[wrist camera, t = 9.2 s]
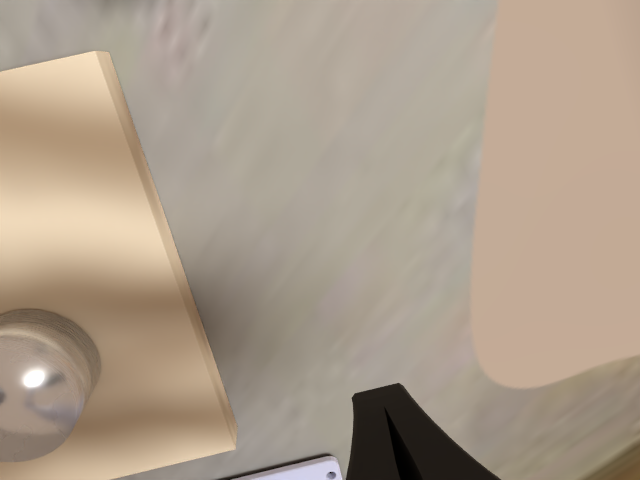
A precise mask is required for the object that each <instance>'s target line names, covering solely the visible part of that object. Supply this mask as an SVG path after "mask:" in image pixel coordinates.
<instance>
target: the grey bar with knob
mask: <svg viewBox="0 0 640 480" xmlns="http://www.w3.org/2000/svg"><path fill="white" fill-rule="evenodd" d="M100 373H101V361H100V356H99V353H98V350H97V348H96V346H95V344H94V343H93V341H92V340H91V338H90V337H89V336H88V335H87V333H86V332H85V331H83V330H82V329H81V328H80V327H79V326H77V325H76V324H75V323H73V322H72V321H70V320H68V319H66V318H64V317H62V316H59V315H57V314H54V313H51V312H46V311H41V310H17V311H12V312H8V313H5V314H2V315H0V462H22V461H29V460H33V459H37V458H40V457H42V456H45V455H47V454H49V453H51V452H53V451H54V450H55V449H57V448H58V447H59V446H61V445H62V444H63V443H64V442H65V440H66V439H67V438H68V437H69V435H70V433H71V432H72V430H73V428H74V426H75V424H76V422H77V420H78V419H79V417H80V415H81V413H82V411H83V409H84V407H85V406H86V404H87V402H88V400H89V398H90V396H91V394H92V393H93V391H94V389H95V387H96V385H97V383H98V380H99V378H100Z"/></svg>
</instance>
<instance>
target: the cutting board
mask: <svg viewBox="0 0 640 480" xmlns="http://www.w3.org/2000/svg"><path fill="white" fill-rule="evenodd" d="M17 310H41V311H46V312H51V313H54V314H57V315H59V316H62V317H64V318H66V319H68V320H70V321H72V322H73V323H75V324H76V325H77V326H79V327H80V328H81V329H82V330H83V331H85V332H86V333H87V335H88V336H89V337H90V338H91V340H92V341H93V343H94V344H95V346H96V348H97V350H98V353H99V356H100V361H101V373H100V378H99V380H98V383H97V385H96V387H95V389H94V391H93V393H92V394H91V396H90V398H89V400H88V402H87V404H86V406H85V407H84V409H83V411H82V413H81V415H80V417H79V419H78V420H77V422H76V424H75V426H74V428H73V430H72V432H71V433H70V435H69V437H68V438H67V439H66V440H65V442H64V443H63V444H62V445H61V446H59V447H58V448H57V449H55V450H54V451H53V452H51V453H49V454H47V455H45V456H42V457H40V458H37V459H33V460H29V461H22V462H0V480H111V479H115V478H119V477H123V476H127V475H131V474H135V473H139V472H144V471H148V470H152V469H156V468H160V467H164V466H168V465H172V464H177V463H181V462H185V461H189V460H193V459H197V458H201V457H205V456H210V455H214V454H218V453H222V452H226V451H230V450H234V449H236V439H237V424H236V421H235V418H234V415H233V412H232V409H231V406H230V404H229V401H228V398H227V395H226V392H225V389H224V386H223V383H222V380H221V377H220V374H219V371H218V369H217V366H216V363H215V360H214V357H213V354H212V351H211V348H210V345H209V342H208V339H207V337H206V334H205V331H204V328H203V325H202V322H201V319H200V316H199V313H198V310H197V307H196V304H195V302H194V299H193V296H192V293H191V290H190V287H189V284H188V281H187V278H186V275H185V272H184V270H183V267H182V264H181V261H180V258H179V255H178V252H177V249H176V246H175V243H174V240H173V237H172V235H171V232H170V229H169V226H168V223H167V220H166V217H165V214H164V211H163V208H162V205H161V203H160V200H159V197H158V194H157V191H156V188H155V185H154V182H153V179H152V176H151V173H150V170H149V168H148V165H147V162H146V159H145V156H144V153H143V150H142V147H141V144H140V141H139V138H138V136H137V133H136V130H135V127H134V124H133V121H132V118H131V115H130V112H129V109H128V106H127V103H126V101H125V98H124V95H123V92H122V89H121V86H120V83H119V80H118V77H117V74H116V71H115V69H114V66H113V63H112V60H111V57H110V54H109V52H102V51H92V52H88V53H83V54H79V55H74V56H70V57H65V58H60V59H56V60H51V61H47V62H42V63H38V64H33V65H29V66H24V67H19V68H15V69H10V70H6V71H1V72H0V315H2V314H5V313H8V312H12V311H17Z"/></svg>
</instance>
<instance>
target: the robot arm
mask: <svg viewBox="0 0 640 480" xmlns="http://www.w3.org/2000/svg"><path fill="white" fill-rule="evenodd" d="M352 402H353V412H354V421H353V436H352V445H351V454H350V461H349V466H348V471H347V477H346V480H501V479H499V478H498V477H497V476H495V475H494V474H493V473H491V472H490V471H489V470H487V469H486V468H485V467H484V466H482V465H481V464H480V463H479V462H477V461H476V460H475V459H474V458H473V457H471V456H470V455H469V454H468V453H467V452H466V451H464V450H463V449H462V448H461V447H460V446H459V445H458V444H456V443H455V442H454V441H453V440H452V439H451V438H450V437H449V436H448V435H447V434H446V433H445V432H444V431H443V430H442V429H441V428H440V427H439V426H438V425H437V424H436V423H435V422H434V421H433V420H432V419H431V418H430V417H429V416H428V415H427V414H426V413H425V412H424V411H423V410H422V408H421V407H420V406H419V405H418V404H417V403H416V402H415V400H414V399H413V398H412V397H411V396H410V394H409V393H408V392H407V390H406V389H405V388H404V386H403V385H401V384H400V383H397V384H392V385H388V386H384V387H380V388H376V389H372V390H367V391H363V392H359V393H355V394H354V396H353V397H352ZM329 472H333V473H329ZM232 480H342V476H341V472H340V468H339V464H338V461H337V459H336V458H335V457H333V456H326V457H322V458H318V459H314V460H310V461H305V462H301V463H297V464H293V465H289V466H285V467H281V468H277V469H273V470H269V471H264V472H260V473H256V474H252V475H248V476H244V477H240V478H236V479H232Z"/></svg>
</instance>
